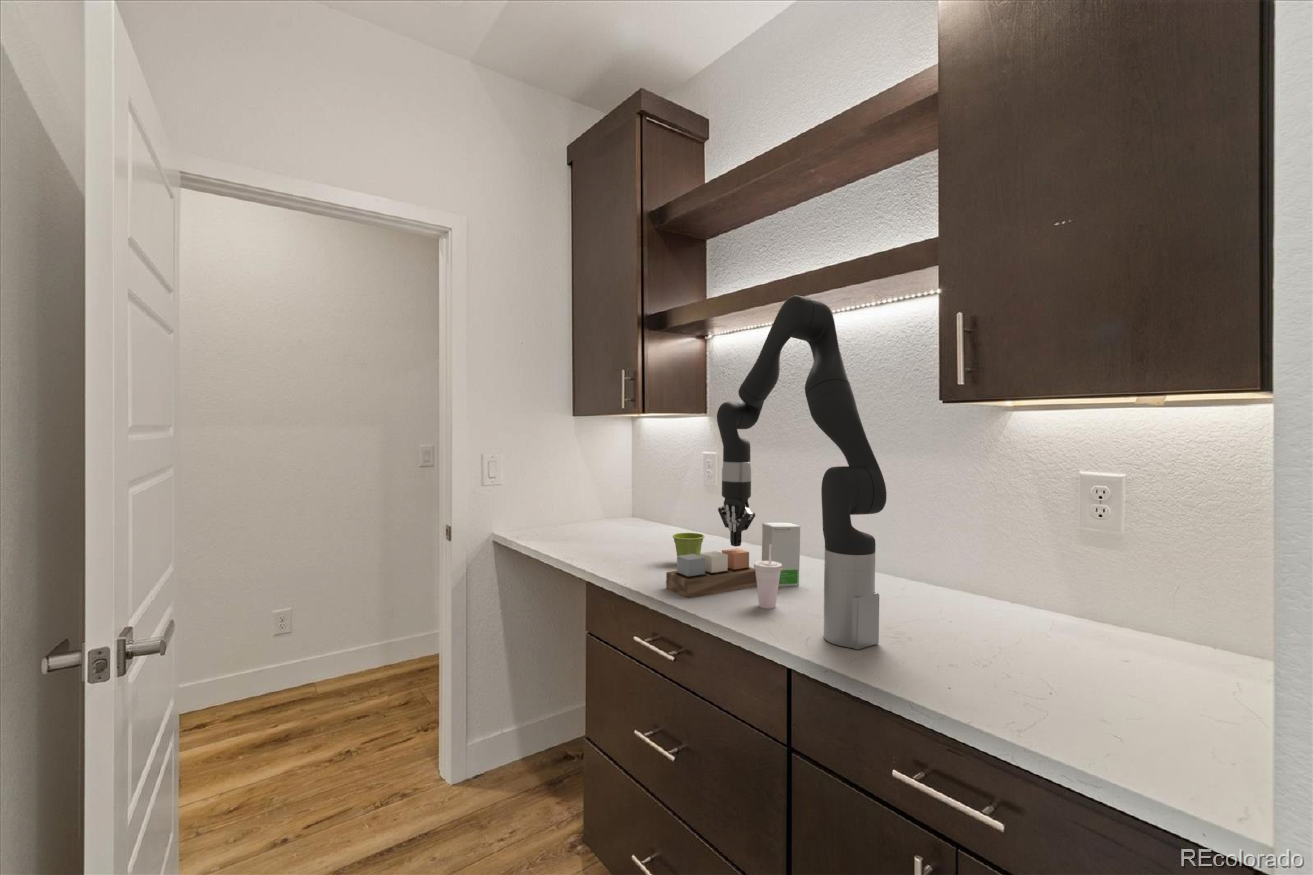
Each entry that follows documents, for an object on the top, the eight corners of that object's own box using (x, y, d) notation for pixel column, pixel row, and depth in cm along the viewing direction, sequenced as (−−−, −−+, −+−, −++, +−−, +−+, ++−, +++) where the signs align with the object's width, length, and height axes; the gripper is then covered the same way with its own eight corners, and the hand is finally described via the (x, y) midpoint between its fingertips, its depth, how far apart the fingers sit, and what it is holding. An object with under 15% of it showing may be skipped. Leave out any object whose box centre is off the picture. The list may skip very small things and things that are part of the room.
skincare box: (770, 588, 150) (771, 526, 149) (759, 581, 156) (760, 522, 156) (800, 586, 152) (801, 525, 151) (789, 579, 158) (789, 521, 158)
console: (759, 585, 152) (759, 570, 152) (688, 598, 140) (688, 581, 140) (735, 577, 160) (735, 562, 160) (666, 588, 149) (666, 572, 149)
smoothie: (774, 612, 130) (774, 548, 130) (748, 606, 134) (748, 545, 134) (786, 605, 135) (787, 544, 135) (761, 600, 139) (761, 540, 139)
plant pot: (694, 570, 167) (694, 539, 167) (666, 565, 173) (666, 536, 172) (710, 564, 175) (710, 534, 175) (682, 559, 180) (682, 531, 180)
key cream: (727, 570, 149) (727, 554, 149) (711, 572, 147) (711, 556, 147) (715, 566, 154) (715, 551, 153) (699, 568, 151) (700, 553, 151)
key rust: (749, 567, 153) (749, 551, 153) (733, 569, 150) (734, 553, 150) (736, 563, 157) (736, 548, 157) (721, 565, 155) (721, 550, 154)
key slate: (705, 573, 146) (705, 557, 146) (688, 576, 143) (688, 560, 143) (693, 569, 150) (693, 553, 150) (676, 572, 147) (677, 556, 147)
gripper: (764, 480, 150) (763, 549, 150) (731, 476, 161) (731, 540, 161) (741, 482, 146) (740, 552, 146) (709, 477, 157) (708, 542, 157)
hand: (735, 545), depth 154 cm, fingers closed
